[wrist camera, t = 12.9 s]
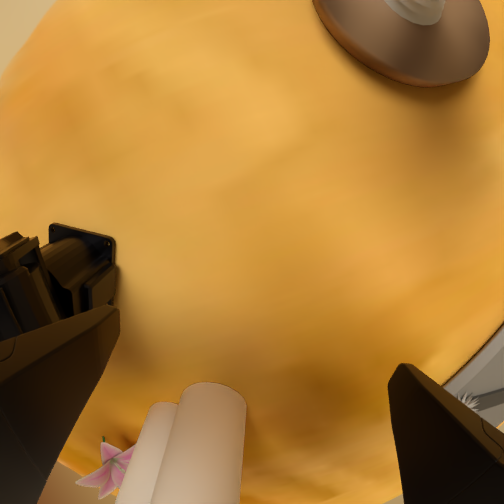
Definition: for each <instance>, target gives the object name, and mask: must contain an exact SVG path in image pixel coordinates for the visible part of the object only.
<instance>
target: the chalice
mask: <svg viewBox="0 0 504 504" xmlns="http://www.w3.org/2000/svg"><path fill="white" fill-rule="evenodd" d="M384 1H385V2H386V3H387V4H388V5H389V6H390V7H391V9H392V10H393V11H395V12H396V13H397V14H399V15H400V16H401V17H403V18H405V19H407V20H409V21H411V22H412V23H416V24H420V25H432V24H434V23H436V22H438V21H439V19H440V17H441V14H442V10H443V8H444V4H445V0H384Z"/></svg>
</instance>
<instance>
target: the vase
mask: <svg viewBox="0 0 504 504" xmlns="http://www.w3.org/2000/svg"><path fill="white" fill-rule="evenodd" d="M246 409H247V405H246V402H245V400H244V398H243V397H242V396H241V395H240V394H239V393H238V392H236V391H235V390H233V389H232V388H230V387H227V386H225V385H222V384H219V383H211V382H202V383H196V384H193V385H190V386H188V387H187V388H186V389H185V390H184V391H183V393H182V396H181V398H180V402H179V405H178V404H175V403H171V402H158V403H155V404H153V405H152V406H151V407H150V409H149V411H148V414H147V417H146V419H145V422H144V424H143V427H142V430H141V432H140V435H139V438H138V440H137V443H136V446H135V448H134V451H133V454H132V456H131V459H130V462H129V465H128V467H127V470H126V473H125V476H124V478H123V481H122V484H121V487H120V490H119V493H118V495H117V499H116V501H115V504H239V501H240V489H241V476H242V463H243V450H244V436H245V423H246Z"/></svg>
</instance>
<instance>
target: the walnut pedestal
mask: <svg viewBox="0 0 504 504" xmlns="http://www.w3.org/2000/svg"><path fill="white" fill-rule="evenodd" d="M313 3H314V6H315V9H316V11H317V13H318V15H319V17H320V19H321V21H322V22H323V24H324V25H325V27H326V28H327V30H328V31H329V32H330V33H331V35H332V36H333V37H334V38H335V39H336V41H337V42H338V43H339V44H340V45H341V46H342V47H343V48H344V49H345V50H346V51H348V52H349V53H350V54H351V55H352V56H354V57H355V58H356V59H357V60H359V61H360V62H361V63H363V64H364V65H366V66H367V67H369V68H370V69H372V70H374V71H376V72H377V73H379V74H381V75H383V76H385V77H387V78H389V79H392V80H395V81H397V82H400V83H403V84H407V85H411V86H418V87H436V86H442V85H446V84H450V83H454V82H458V81H461V80H464V79H467V78H469V77H471V76H472V75H474V74H475V73H476V72H477V71H479V70H480V68H481V67H482V66H483V64H484V62H485V60H486V58H487V55H488V51H489V43H490V36H489V27H488V22H487V19H486V16H485V12H484V10H483V8H482V5H481V3H480V1H479V0H445V4H444V8H443V10H442V14H441V17H440V19H439V21H438V22H436V23H434V24H432V25H420V24H416V23H412V22H411V21H409V20H407V19H405V18H403V17H401V16H400V15H399V14H397V13H396V12H395V11H393V10H392V9H391V7H390V6H389V5H388V4H387V3H386V2H385V1H384V0H313Z"/></svg>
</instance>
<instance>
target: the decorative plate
mask: <svg viewBox="0 0 504 504" xmlns="http://www.w3.org/2000/svg"><path fill="white" fill-rule="evenodd" d="M442 387H443V388H444V389H445V390H447V391H448V392H449V393H451V394H452V395H453V396H454V397H456V398H457V399H458V400H460V401H461V402H462V403H464V404H465V405H466V406H468V407H469V408H470V409H472V410H473V411H474V412H475V413H477V414H478V415H479V416H480V417H482V418H483V419H485V420H486V421H487V422H489V423H490V424H491V425H493V426H494V427H495V428H496V427H497V426H498V425H499V424H500V423H502V422H503V421H504V324H503V325H502V326H501V327H500V329H499V330H498V331H497V332H496V333H495V334H494V336H493V337H492V338H491V339H490V340H489V341H488V342H487V343H486V344H485V345H484V347H483V348H482V349H481V350H480V351H479V352H478V353H477V354H476V355H475V356H474V357H473V358H472V359H471V360H470V361H469V362H468V363H467V364H466V365H465V366H464V367H463V368H462V369H461V370H460V371H459V372H458V373H457V374H455V375H454V376H453V377H452V378H451V379H450V380H449V381H448V382H447V383H446V384H444V385H443V386H442Z"/></svg>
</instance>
